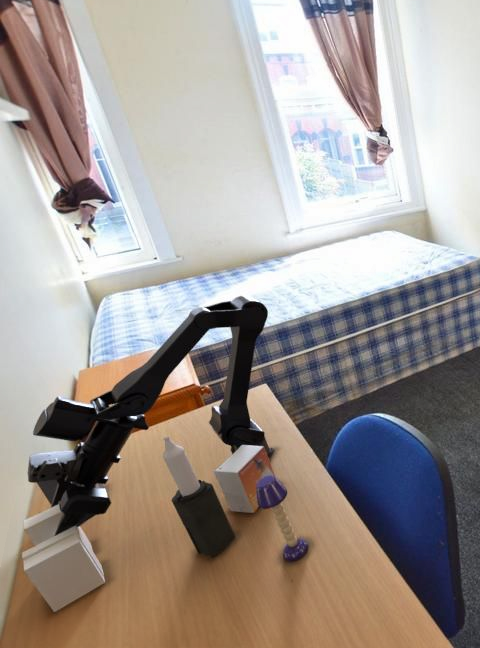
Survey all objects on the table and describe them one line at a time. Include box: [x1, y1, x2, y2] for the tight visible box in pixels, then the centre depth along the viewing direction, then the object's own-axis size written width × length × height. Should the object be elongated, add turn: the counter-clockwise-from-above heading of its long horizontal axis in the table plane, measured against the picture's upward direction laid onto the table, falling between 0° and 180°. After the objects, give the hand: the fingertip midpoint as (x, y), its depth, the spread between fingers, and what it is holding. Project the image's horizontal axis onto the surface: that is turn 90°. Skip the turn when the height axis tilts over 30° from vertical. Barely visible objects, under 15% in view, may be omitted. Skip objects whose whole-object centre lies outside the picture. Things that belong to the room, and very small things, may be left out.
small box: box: [213, 445, 276, 514], centre depth 95 cm, size 8×6×10 cm
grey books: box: [36, 480, 106, 506], centre depth 99 cm, size 7×5×10 cm
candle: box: [162, 435, 236, 558], centre depth 82 cm, size 5×5×25 cm
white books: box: [21, 526, 106, 613], centre depth 79 cm, size 7×5×10 cm
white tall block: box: [22, 504, 94, 552], centre depth 85 cm, size 6×3×11 cm, turn 137°
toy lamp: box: [256, 475, 309, 562], centre depth 81 cm, size 5×5×17 cm
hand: (54, 526), depth 84 cm, fingers open, 9 cm apart
